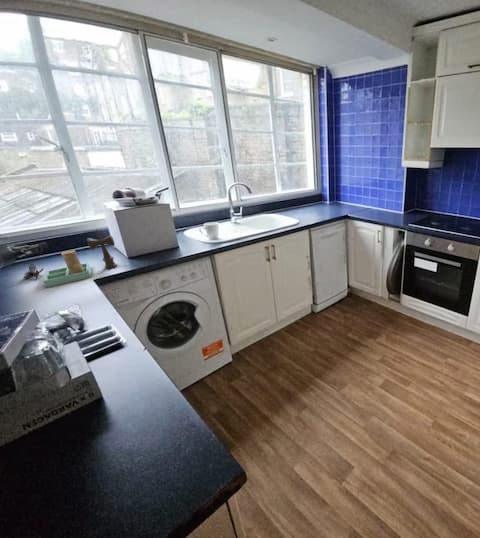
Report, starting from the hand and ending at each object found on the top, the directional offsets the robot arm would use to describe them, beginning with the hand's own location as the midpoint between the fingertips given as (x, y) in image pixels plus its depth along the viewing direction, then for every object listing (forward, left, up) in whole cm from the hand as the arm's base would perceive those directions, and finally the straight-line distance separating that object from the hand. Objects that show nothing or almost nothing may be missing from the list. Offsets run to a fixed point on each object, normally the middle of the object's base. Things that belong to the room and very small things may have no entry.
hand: (36, 244), depth 122 cm
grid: (+4, +12, -20) cm, 24 cm away
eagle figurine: (-9, +24, -20) cm, 33 cm away
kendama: (+20, +13, -20) cm, 31 cm away
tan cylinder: (+7, +8, -19) cm, 22 cm away
